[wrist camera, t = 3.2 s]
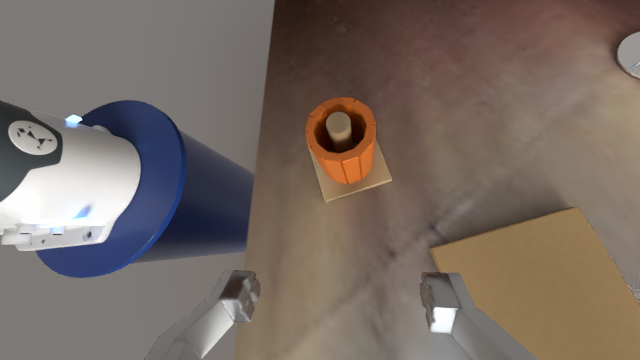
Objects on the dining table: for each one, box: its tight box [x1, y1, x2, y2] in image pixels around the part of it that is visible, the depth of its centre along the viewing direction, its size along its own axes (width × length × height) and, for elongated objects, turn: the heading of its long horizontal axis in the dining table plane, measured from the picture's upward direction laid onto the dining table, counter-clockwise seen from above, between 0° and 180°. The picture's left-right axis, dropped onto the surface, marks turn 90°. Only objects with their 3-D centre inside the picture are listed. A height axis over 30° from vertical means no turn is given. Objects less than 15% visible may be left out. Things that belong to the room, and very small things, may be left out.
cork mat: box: [429, 207, 640, 360], centre depth 21 cm, size 14×14×1 cm
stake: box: [307, 112, 392, 202], centre depth 24 cm, size 8×8×10 cm
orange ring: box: [305, 97, 376, 184], centre depth 24 cm, size 6×6×8 cm
